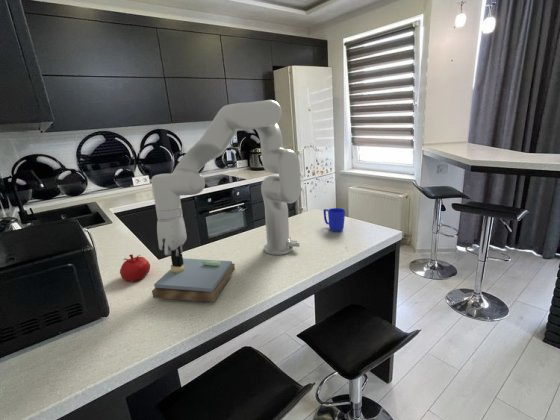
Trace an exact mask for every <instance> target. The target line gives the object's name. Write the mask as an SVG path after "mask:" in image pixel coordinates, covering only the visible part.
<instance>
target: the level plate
mask: <svg viewBox="0 0 560 420" xmlns="http://www.w3.org/2000/svg"><path fill="white" fill-rule="evenodd" d="M183 263H184V264H183V265H182V266H181V267H176V266H172V264H171V265H170V269H169V270H168V271H167V272H166V273H164V275H163V276H162V277H160V278H159V279H158V280H157V281H156V282H155V283H154V284H153V285H154V288H167V289H179V290H192V291H205V292H213V290H214V289H215V288H216V286H217V285H218V283H219V282H220V281H221V279H222V278H223V276H224V275H225V274H226V272H227V271H228V269H229V268H230V267H231V265H232V263H233V261H232V260H217V259H198V258H185V257H184V258H183Z"/></svg>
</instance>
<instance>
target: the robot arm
mask: <svg viewBox="0 0 560 420" xmlns="http://www.w3.org/2000/svg"><path fill="white" fill-rule="evenodd" d="M282 115H283V112H282V107H281V105H280V104H279V103H278V102H277V101H275V100H273V99H266V100H258V101H249V102H238V103H230V104H226V105H224V106H222V107H221V108H220V109H219V110H218V112H217V113H216V115H215V116H214V118H213V120H212V121H211V122H210V124H209V126H208V127H207V129H206V130H205V132H204V133H203V135H202V136H201V137H200V139H199V140H198V141H196V143H195V144H193V145H192V147H190V149H189V150H188V151H186V153H185V154H184V155H183V156H182V158H181V159H180V161H178V163H177V165H176V166H175V168H174V170H173V171H172V173H159V174H155V175H153V176H152V177H151V189H152V193H153V199H154V200H153V201H154V204H155V205H154V207H155V210H156V218H157V221H156V222H157V223H156V235H157V242H158V249H159V251H164V256H170V259H171V265H172V266H176V267H181V266H182V265H183V264H184V263H183V246H184V244H185V243H186V241H187V238H188V236H187V229H186V225H185V219H184V217H183V209H182V207H183V206H182V202H181V196H194V195H198V194H200V193H202V192H203V191H204V189H205V186H206V180H205V177H204V176H203V175H202V174H201V173H199V171H201V169H202V168H203V167H204V166H205V165H206V164H207V163H209V162H211V161H213V160H215V159H217V158H219V157H221V156H222V155H223V154H224V153H225V151H226V150H227V148H228V147H229V145H230V143H231V142H232V140H233V138H234V137H235V135H236V134H237V132H239V131H250V130H255V131H256V132H257V134H258V137H259V142H260V149H261V151H260V152H261V159H262V160H261V162H262V167H263V169H264V170H265V171H267V172H268V173H271V174H277V175H268V176H267V177H265V178H264V179H263V181H262V182H261V185H260V189H261V195H262V199H263V204H264V216H265V217H264V218H265V232H266V233H265V234H266V244H265V245H263V251H264V252H265V253H267V254H268V255H271V256H272V255H273V256H282V255H286V254H289V253H291V252H293V250H294V247H295V248H300V244H301V243H300V242H298V240H292V238H291V236H290V225H289V223H290V222H289V208H288V204H293V203H295V202H297V200H299V198H300V195H301V192H302V183H301V181H302V180H301V164H300V163H301V162H300V158H299V156H298V154H297V153H296V152H295V151H294V150H292V149H289V148H284V142H283V135H282V131H281V128H280V126H279V122H280V120H281V118H282Z"/></svg>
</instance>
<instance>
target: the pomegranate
mask: <svg viewBox="0 0 560 420" xmlns="http://www.w3.org/2000/svg"><path fill="white" fill-rule="evenodd" d="M128 256H129V258H123V263H122V265H121V267H120V269H119V275H120V277H121V279H122V280H124V281H126V282H133V283H134V282H139V280H142V279H143V278H145V277H146V276H147V275H148V274H149V272H150V269H151V264H150V262H149V260H147V259H146V257H144V256H142V255H141V254H138V255H137V256H135V257H134V254H133V253H132V254H129V255H128Z"/></svg>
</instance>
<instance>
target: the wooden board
mask: <svg viewBox="0 0 560 420" xmlns="http://www.w3.org/2000/svg"><path fill="white" fill-rule="evenodd" d="M235 265H236V264H235V263H233V262H232V265H231V267H230V268H229V269H228V271H227V272H226V274H225V275H224V276H223V278H222V279H221V281H220V282H219V283H218V285H217V286H216V288H215V289H214V290H213V292H205V291H192V290H179V289H167V288H155V287H154V288H153V289H152V290H151V294H152V298H153V299H166V300H167V299H170V300H182V301H199V302H204V303H211V302H214V301H216V299H217V297H218V296H219V294H220V293H221V291H222V290H223V289H224V287H225V285H226V284H227V282H228V281H229V279H230V278H231V277H232V275H233V273H234V271H235V270H236V266H235Z"/></svg>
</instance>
